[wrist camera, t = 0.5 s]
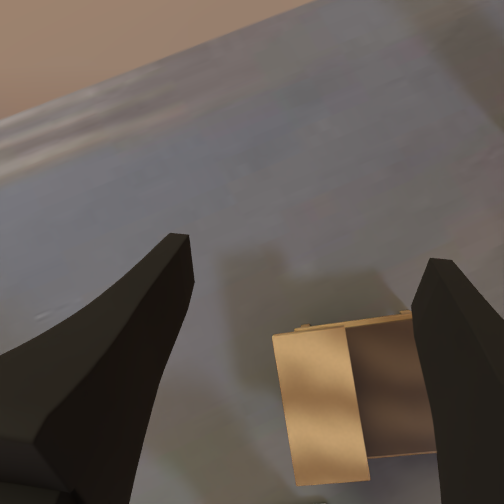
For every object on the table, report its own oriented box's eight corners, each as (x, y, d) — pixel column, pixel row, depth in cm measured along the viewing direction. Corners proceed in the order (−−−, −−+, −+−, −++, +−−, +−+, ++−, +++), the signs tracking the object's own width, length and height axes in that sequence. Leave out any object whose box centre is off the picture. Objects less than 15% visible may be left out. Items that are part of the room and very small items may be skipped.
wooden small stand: (433, 436, 38) (458, 473, 31) (299, 448, 40) (296, 486, 33) (411, 304, 38) (431, 315, 32) (278, 323, 40) (271, 336, 34)
